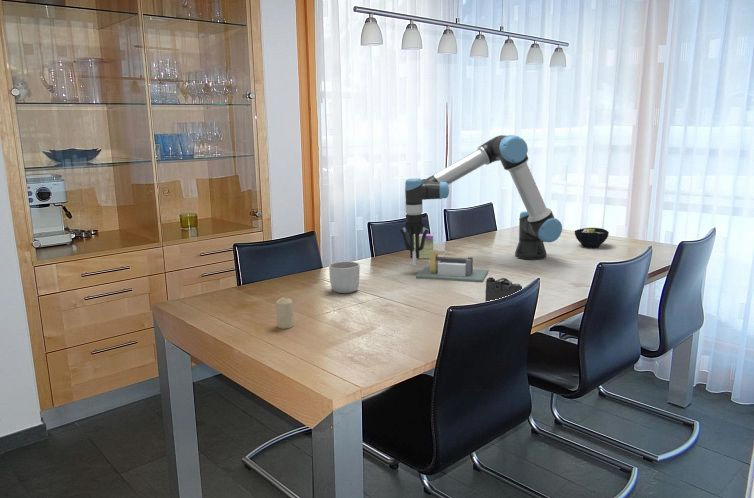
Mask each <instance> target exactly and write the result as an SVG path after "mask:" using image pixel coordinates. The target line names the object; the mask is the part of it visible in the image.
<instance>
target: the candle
mask: <svg viewBox="0 0 754 498" xmlns="http://www.w3.org/2000/svg"><path fill="white" fill-rule="evenodd" d="M275 308H276V310H275V311H276V312H275V313H276V327H277V328H278V329H291V328H292V327H294V325H295V324H294V309H293V308H294V307H293V300H292V299H291V298H290V297H287V296H282V297H280V298H279V299H277V300H276V302H275Z"/></svg>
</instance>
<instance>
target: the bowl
mask: <svg viewBox="0 0 754 498" xmlns="http://www.w3.org/2000/svg"><path fill="white" fill-rule="evenodd" d="M609 234H610V233H609V231H608V230H607V229H604V228H599V227H584V228H579V229H578V228H577V229H575V230H574V236H575V238H576V240H577V241H578V242H579V243H580V244H581V246H582V247H583V248H587V249H598V248H600V247H601V245H602V244H603V243H604V242H605V241H606V240H607V239H608V237H609Z"/></svg>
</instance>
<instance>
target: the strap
mask: <svg viewBox="0 0 754 498" xmlns="http://www.w3.org/2000/svg"><path fill="white" fill-rule="evenodd" d="M466 259H470V260H471V261H472V259H471V258H468V257H466V258H465V257H452V256H451V257H449V256H438V257H437V258H436V261H438V262H440V261H449V262H465V263H466Z"/></svg>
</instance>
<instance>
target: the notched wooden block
mask: <svg viewBox="0 0 754 498" xmlns="http://www.w3.org/2000/svg"><path fill="white" fill-rule="evenodd" d="M444 253H445V250H436V249H435V250H434V249H433V250H432V251H431V252H430V259H429V262H430V263H429V264H430V265H429V267H430V273H436V272H437V271H438V263H439V261H436V258H437V257H439V255H444Z"/></svg>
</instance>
